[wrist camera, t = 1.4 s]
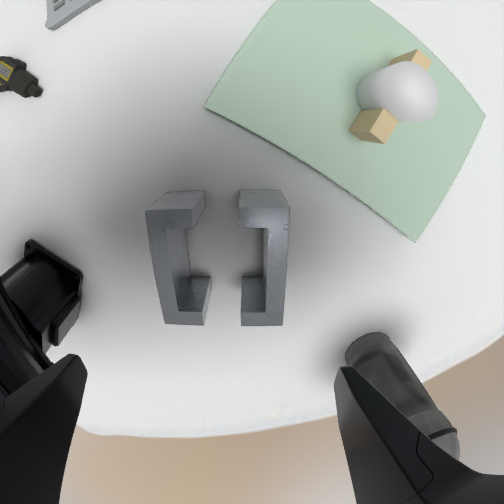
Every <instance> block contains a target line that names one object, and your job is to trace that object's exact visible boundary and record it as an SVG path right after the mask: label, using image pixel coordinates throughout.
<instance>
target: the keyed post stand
mask: <svg viewBox="0 0 504 504" xmlns="http://www.w3.org/2000/svg"><path fill="white" fill-rule="evenodd" d="M204 107H205V108H207V109H209V110H211V111H213V112H215V113H217V114H219V115H221V116H223V117H225V118H227V119H229V120H231V121H233V122H235V123H237V124H239V125H241V126H243V127H245V128H246V129H248V130H250V131H252V132H254V133H256V134H257V135H259V136H261V137H263V138H265V139H266V140H268V141H270V142H271V143H273V144H275V145H277V146H278V147H280V148H282V149H283V150H285V151H287V152H288V153H290V154H292V155H293V156H295V157H297V158H298V159H300V160H301V161H303V162H305V163H306V164H308V165H309V166H311V167H312V168H314V169H316V170H317V171H319V172H320V173H322V174H323V175H325V176H326V177H328V178H329V179H331V180H332V181H334V182H335V183H337V184H338V185H339V186H341V187H342V188H344V189H345V190H347V191H348V192H350V193H351V194H352V195H354V196H355V197H357V198H358V199H359V200H361V201H362V202H363V203H365V204H366V205H367V206H369V207H370V208H371V209H373V210H374V211H375V212H377V213H378V214H379V215H381V216H382V217H383V218H385V219H386V220H387V221H388V222H390V223H391V224H392V225H393V226H395V227H396V228H397V229H398V230H400V231H401V232H402V233H403V234H405V235H406V236H407V237H408V238H409V239H411V240H412V241H413V242H414V243H416V241H417V240H418V238H419V237H420V235H421V234H422V232H423V231H424V229H425V228H426V226H427V225H428V223H429V222H430V220H431V219H432V217H433V215H434V214H435V212H436V211H437V209H438V207H439V206H440V204H441V203H442V201H443V199H444V198H445V196H446V194H447V192H448V191H449V189H450V187H451V185H452V184H453V182H454V180H455V178H456V177H457V175H458V173H459V171H460V169H461V167H462V165H463V163H464V161H465V159H466V158H467V156H468V154H469V152H470V149H471V147H472V145H473V143H474V141H475V139H476V137H477V135H478V132H479V130H480V128H481V126H482V123H483V121H484V119H485V116H486V115H485V113H484V112H483V111H482V109H481V108H480V107H479V105H478V104H477V103H476V101H475V100H474V99H473V97H472V96H471V95H470V93H469V92H468V91H467V90H466V89H465V87H464V86H463V85H462V84H461V83H460V81H459V80H458V79H457V78H456V77H455V76H454V74H453V73H452V72H451V71H450V70H449V69H448V68H447V67H446V66H445V65H444V64H443V63H442V61H441V60H440V59H439V58H438V57H437V56H436V55H435V54H434V53H433V52H432V51H431V50H430V49H428V48H427V47H426V46H425V45H424V44H423V43H422V42H421V41H420V40H419V39H418V38H417V37H415V36H414V35H413V34H412V33H411V32H410V31H409V30H407V29H406V28H405V27H404V26H403V25H401V24H400V23H399V22H398V21H396V20H395V19H394V18H393V17H391V16H390V15H389V14H387V13H386V12H385V11H383V10H382V9H380V8H379V7H378V6H376V5H375V4H373V3H372V2H370V1H369V0H277V1H276V2H275V4H274V5H273V6H272V7H271V8H270V10H269V11H268V12H267V13H266V15H265V16H264V17H263V19H262V20H261V21H260V22H259V24H258V25H257V26H256V28H255V29H254V30H253V32H252V33H251V35H250V36H249V37H248V39H247V40H246V41H245V43H244V44H243V46H242V47H241V49H240V50H239V51H238V53H237V54H236V56H235V57H234V59H233V60H232V62H231V63H230V65H229V66H228V68H227V69H226V71H225V72H224V74H223V76H222V77H221V79H220V80H219V82H218V83H217V85H216V87H215V88H214V90H213V92H212V93H211V95H210V97H209V98H208V100H207V102H206V103H205V105H204Z"/></svg>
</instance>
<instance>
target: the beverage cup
mask: <svg viewBox="0 0 504 504" xmlns="http://www.w3.org/2000/svg"><path fill="white" fill-rule="evenodd" d="M345 359H346V362H347V366H353V367H354V368H355V369H356V370H357V371H358V372H359V373H360V374H361V375H362V376H363V377H364V378H365V379H366V380H368V381H369V382H370V383H371V384H372V385H373V386H374V387H375V388H376V389H377V390H378V391H379V392H380V393H381V394H382V395H383V396H384V397H385V398H387V399H388V400H389V401H390V402H391V403H392V404H393V405H394V406H395V407H396V408H397V409H398V410H399V411H400V412H401V413H402V414H404V415H405V416H406V417H407V418H408V419H409V420H410V421H411V422H412V423H413V424H414V425H415V426H416V427H417V428H418V429H419V431H422V432H423V433H424V434H425V435H426V436H427V437H428V438H430V439H431V440H432V441H433V442H434V443H435V444H436V445H438V446H439V447H440V448H442V449H443V450H444V451H446V452H447V453H448V454H450V455H451V456H453V457H454V458H455V459H457V460H458V461H459V457H460V447H459V441H458V438H457V430H456V429H455V428H454V427H452V425H451V423H450V422H449V420H448V419H447V418H446V417H445V416H444V414H443V413H442V412H441V411H439V410H438V408H437V407H436V405H435V404H434V402H433V400H432V399H431V397H430V396H429V394H428V393H427V391H426V390H425V388H424V387H423V385H422V383H421V382H420V380H419V379H418V377H417V376H416V374H415V373H414V371H413V370H412V369H411V367H410V366H409V364H408V363H407V361H406V360H405V358H404V357H403V355H402V354H401V353H400V351H399V350H398V348H397V347H396V346H395V345H394V344H393V343H392V342H391V340H390V339H389V337H388V336H387V335H386V334H383V333H380V332H379V333H370V334H367V335H364V336H362V337H360V338H359V339H357V340H356V341H355V342H353V343H352V345H351V346H350V347H349V348H348V350H347V352H346V358H345Z"/></svg>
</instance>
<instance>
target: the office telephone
mask: <svg viewBox="0 0 504 504" xmlns="http://www.w3.org/2000/svg"><path fill="white" fill-rule="evenodd" d="M100 1H101V0H47V21H46V24H45V27H46V28H48V29H50V30H56V29H58V28H60V27H61V26H63V25H64V24H65V23H67V22H68V21H70V20H71V19H73V18H74V17H76V16H77V15H79V14H80V13H82V12H83V11H85V10H86V9H88V8H90V7H91V6H93V5H95V4H96V3H98V2H100Z"/></svg>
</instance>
